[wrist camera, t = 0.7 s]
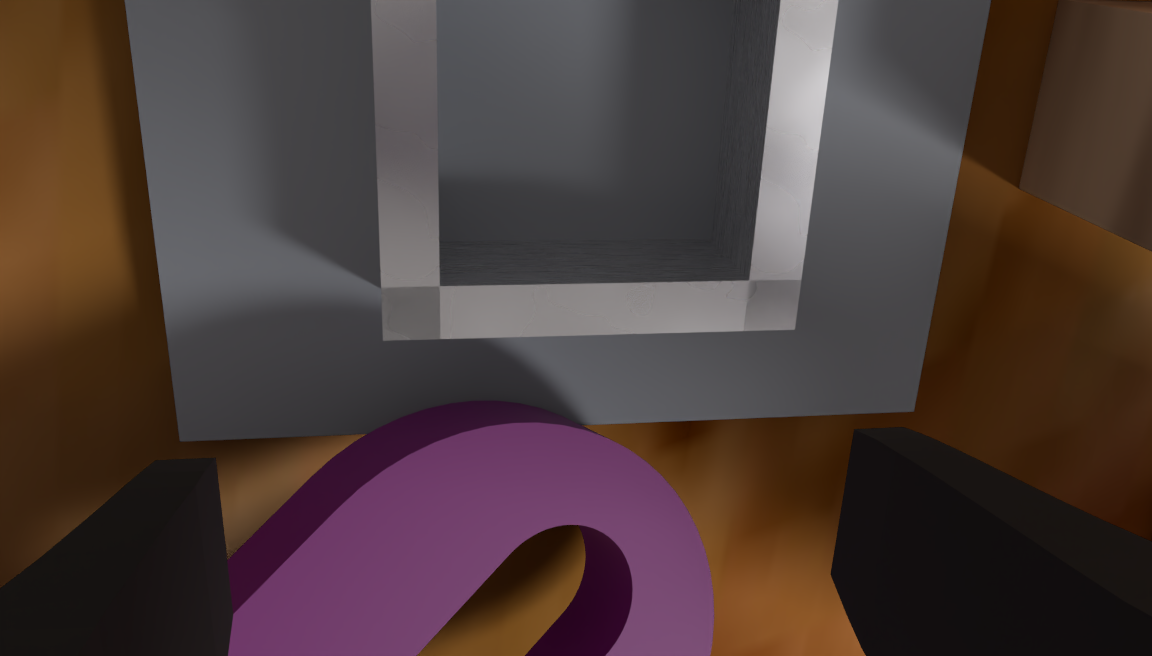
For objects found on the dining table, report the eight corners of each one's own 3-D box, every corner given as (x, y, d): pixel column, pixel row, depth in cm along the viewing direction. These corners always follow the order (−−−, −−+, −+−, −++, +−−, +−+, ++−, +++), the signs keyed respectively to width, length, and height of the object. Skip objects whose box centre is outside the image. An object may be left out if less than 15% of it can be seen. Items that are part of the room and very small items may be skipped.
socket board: (1022, -291, 19) (1140, -325, 16) (898, 395, 24) (969, 467, 21) (91, -365, 16) (22, -423, 13) (187, 422, 22) (152, 509, 18)
